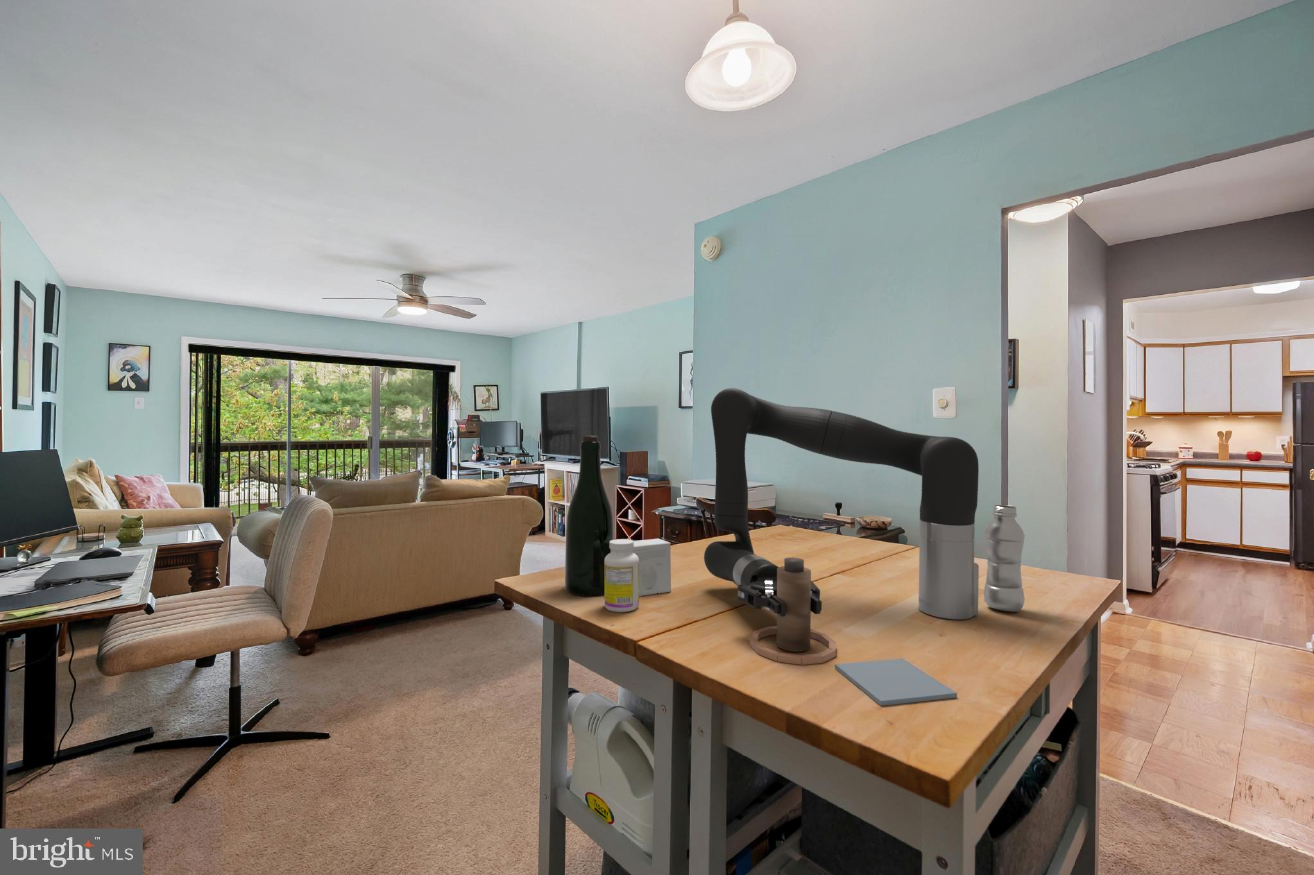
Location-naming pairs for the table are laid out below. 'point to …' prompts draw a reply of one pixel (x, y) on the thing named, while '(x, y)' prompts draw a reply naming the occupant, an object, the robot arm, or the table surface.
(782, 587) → the pepper mill
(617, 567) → the supplement bottle
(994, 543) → the plastic bottle
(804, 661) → the pinkish tan segmented ring
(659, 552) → the skincare box
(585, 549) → the wine bottle
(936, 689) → the mat
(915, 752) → the table surface
